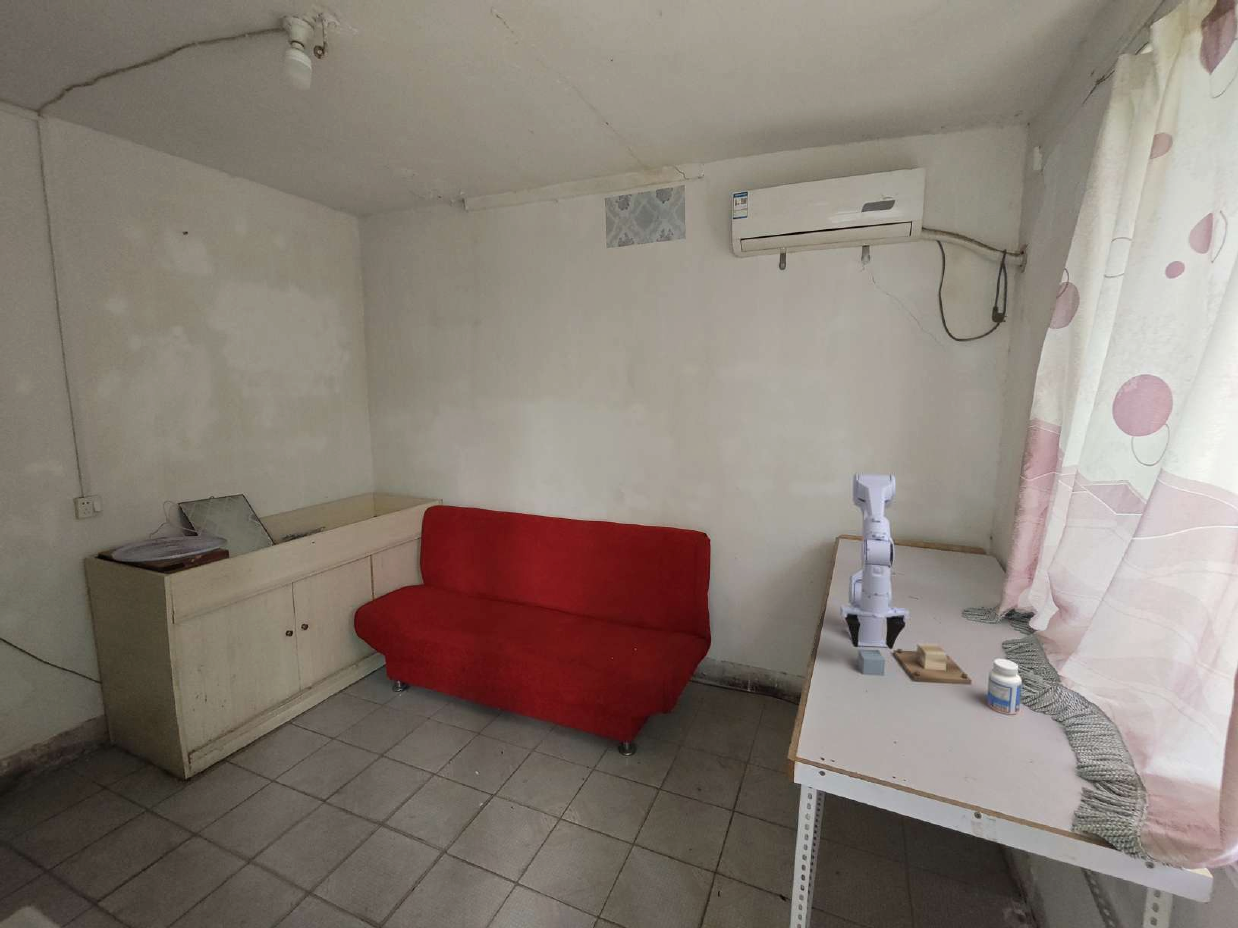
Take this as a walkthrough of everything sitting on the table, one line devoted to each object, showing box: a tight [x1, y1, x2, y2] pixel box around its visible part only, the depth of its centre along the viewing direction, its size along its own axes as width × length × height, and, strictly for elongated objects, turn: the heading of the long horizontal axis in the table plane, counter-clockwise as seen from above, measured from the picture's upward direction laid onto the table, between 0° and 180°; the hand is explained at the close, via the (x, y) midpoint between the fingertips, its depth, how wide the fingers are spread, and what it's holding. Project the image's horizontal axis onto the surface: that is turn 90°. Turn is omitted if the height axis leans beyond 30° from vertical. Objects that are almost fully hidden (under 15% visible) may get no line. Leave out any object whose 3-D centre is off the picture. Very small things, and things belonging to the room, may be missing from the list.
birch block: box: [916, 643, 948, 670], centre depth 121 cm, size 4×4×4 cm
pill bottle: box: [986, 658, 1023, 715], centre depth 106 cm, size 6×5×10 cm
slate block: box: [857, 648, 886, 677], centre depth 121 cm, size 4×4×4 cm
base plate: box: [892, 648, 973, 685], centre depth 121 cm, size 12×12×2 cm
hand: (872, 645), depth 120 cm, fingers open, 7 cm apart
